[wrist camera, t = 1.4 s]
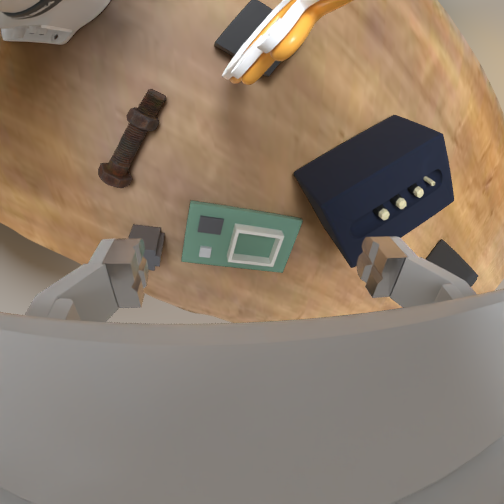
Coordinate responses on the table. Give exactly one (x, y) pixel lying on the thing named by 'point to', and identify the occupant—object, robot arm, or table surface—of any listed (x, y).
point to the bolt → (132, 140)
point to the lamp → (269, 35)
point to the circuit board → (238, 237)
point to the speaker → (378, 183)
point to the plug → (149, 243)
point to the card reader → (452, 262)
